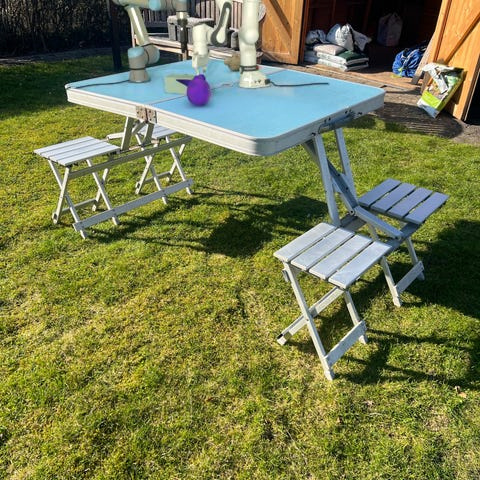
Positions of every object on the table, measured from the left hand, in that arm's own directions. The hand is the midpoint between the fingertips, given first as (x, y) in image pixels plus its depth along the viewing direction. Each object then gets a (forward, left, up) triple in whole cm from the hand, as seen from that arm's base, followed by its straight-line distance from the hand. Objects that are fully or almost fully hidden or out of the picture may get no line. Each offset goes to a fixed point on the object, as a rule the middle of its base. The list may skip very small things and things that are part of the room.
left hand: (184, 51), depth 323 cm
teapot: (+47, +30, -21) cm, 60 cm away
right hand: (+2, -41, -9) cm, 42 cm away
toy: (-8, -67, -21) cm, 71 cm away
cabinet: (-9, -32, -21) cm, 39 cm away
